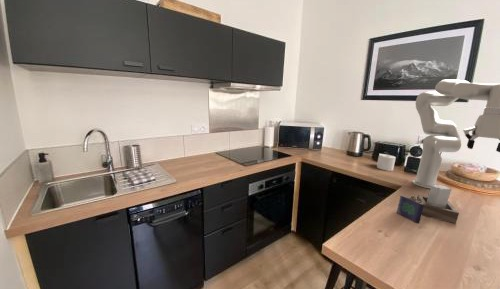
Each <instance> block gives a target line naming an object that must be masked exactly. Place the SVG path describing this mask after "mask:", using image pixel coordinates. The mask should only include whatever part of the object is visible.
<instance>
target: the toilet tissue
mask: <svg viewBox="0 0 500 289" xmlns="http://www.w3.org/2000/svg"><path fill="white" fill-rule="evenodd" d="M378 154H379V155H378V158H377V163H376V168H377V169H379V170H381V171H390V172H391V171H394V168H395V162H396V158H397V157H396V156H394V155H391V154H386V153H385V154H384V153H378Z"/></svg>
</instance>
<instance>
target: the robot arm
mask: <svg viewBox="0 0 500 289" xmlns="http://www.w3.org/2000/svg"><path fill="white" fill-rule="evenodd" d="M434 89H435V90H434V91H423V92H421V93H419V94H418V95H417V97H416V99H415V109H416V111H417V113H418V115H419V118H420V123H421V128H422V131H423V133H424V134H425V135H427V136H425V137H424V139H423V141H422V151H421V157H420V162H419V166H418V169H417V173H416V177H415V179H412V180H411V182H412V184H414V185H416V186H418V187H421V188H424V189H429V190H430V188H431V185H437V183H436V182H437V179H438V176H439V171H440V168H441V165H442V160H443V158H442V156H441V152H443V153H457V152H458V151H460V149H461V147H462V139H461V138H460V134H459V130H458V127H457V125H456V123H454V122H453V121H452V120H444V119H440V118H439V114H438V112H437V111H436V110H435V108H433V106H434V107H447V106H450V105H452V104H453V103H454V102H456V101H457V100H459V99H461V100H468V101H469V100H470V101H486V103H485V106H484V109H483V113H482V114H479V116H477V119H476V121H475V123H474V126H473V127H469V128H464V129H462V130H463V131H462V132H463V133H464V136H465V138H467V139H468V140H467V144H466V147H467V149H469V150H472V149H474V145H475V142H476V141H475V140H476V139H477V138H487V139H498V140H499V141H500V82H499V83H498V82H497V83H481V82H479V83H478V82H469V81H468V80H463V79H461V80H460V79H442V80H441V81H439V82H437V83H436V85H435V88H434ZM470 132H471V134H470ZM495 151H496V152H498V153H500V142H498V143H497V147H496V150H495Z"/></svg>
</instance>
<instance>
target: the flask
mask: <svg viewBox="0 0 500 289" xmlns="http://www.w3.org/2000/svg"><path fill="white" fill-rule="evenodd" d="M416 199H417V197H416V195H415V194H414V195H413V194H412V195H410V196H407V195H404V194H401V195H399V201H398V204H397V209H396V213H397V214H398V215H399V216H402V217H403V218H405V219H408V220H409V221H411V222H413V223H415V224H420V223H421V219H422V216H423V215H422V211H423V207H424V204H423V203H422V202H421V201H418V200H416Z"/></svg>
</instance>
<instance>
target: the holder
mask: <svg viewBox="0 0 500 289" xmlns="http://www.w3.org/2000/svg"><path fill="white" fill-rule="evenodd" d="M427 199H428V196H424V195H421V194H417V197H416V200H418V201H421V202H422V203H423V204H424V207H423V211H422V215H421V216H424V217H428V218H432V219H434V220H438V221H439V220H440V221H444V222H448V223H453V224H457V221H458V218H459V215H460V213H459V210H457V209H456V208H455V207H454V206H453V204H452V203H451V202H450V201H449V200H448V201H447V205H446V208H445V209H444V208H440V207H435V206H431V205H427V204H426V202H427Z"/></svg>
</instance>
